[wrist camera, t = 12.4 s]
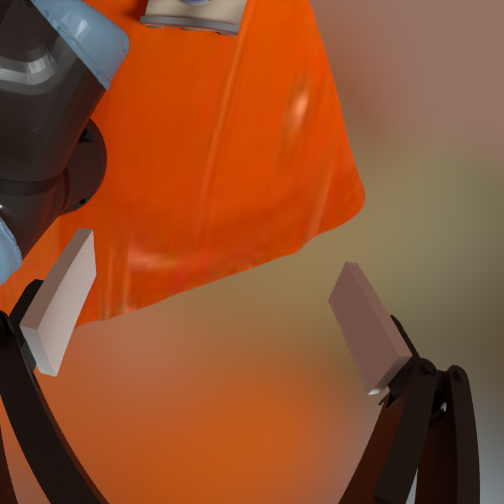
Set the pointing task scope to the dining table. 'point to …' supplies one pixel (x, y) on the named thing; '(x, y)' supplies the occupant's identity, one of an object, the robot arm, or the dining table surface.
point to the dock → (196, 15)
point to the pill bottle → (196, 2)
